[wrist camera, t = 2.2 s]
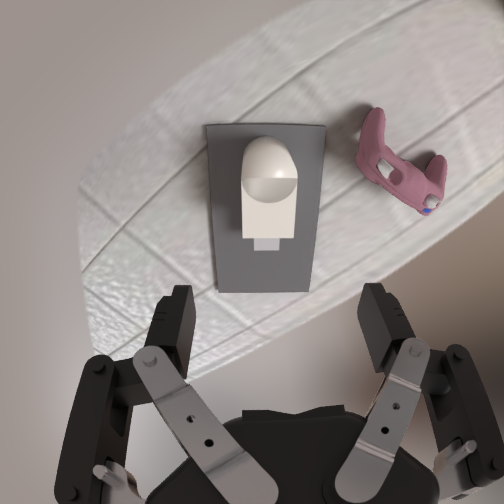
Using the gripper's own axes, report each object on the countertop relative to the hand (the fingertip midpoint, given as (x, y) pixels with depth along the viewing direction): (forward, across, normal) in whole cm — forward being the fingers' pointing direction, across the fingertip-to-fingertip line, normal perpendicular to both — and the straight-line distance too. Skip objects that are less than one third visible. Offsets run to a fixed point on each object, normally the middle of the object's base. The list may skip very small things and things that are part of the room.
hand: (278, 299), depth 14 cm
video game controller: (+16, -12, -3) cm, 20 cm away
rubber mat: (+16, 0, +4) cm, 16 cm away
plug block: (+15, 0, 0) cm, 15 cm away
